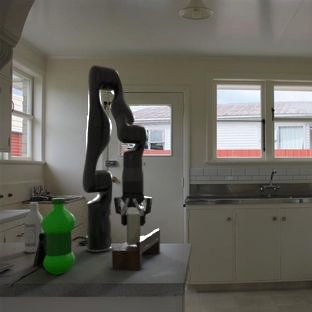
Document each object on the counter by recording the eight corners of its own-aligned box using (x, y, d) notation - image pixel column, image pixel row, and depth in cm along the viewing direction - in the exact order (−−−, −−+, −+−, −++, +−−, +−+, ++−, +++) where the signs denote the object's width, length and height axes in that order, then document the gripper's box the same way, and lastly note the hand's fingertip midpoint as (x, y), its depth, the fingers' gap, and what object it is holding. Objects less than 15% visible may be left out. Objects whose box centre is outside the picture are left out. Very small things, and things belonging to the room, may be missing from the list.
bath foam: (39, 247, 157) (39, 201, 157) (47, 250, 153) (46, 202, 152) (22, 251, 152) (21, 202, 151) (29, 253, 147) (28, 204, 147)
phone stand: (33, 265, 131) (32, 232, 131) (47, 261, 137) (47, 229, 137) (51, 268, 128) (50, 234, 128) (65, 263, 133) (64, 231, 133)
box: (140, 244, 132) (140, 213, 132) (128, 245, 130) (128, 214, 130) (138, 241, 136) (138, 211, 136) (126, 242, 135) (126, 212, 135)
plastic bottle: (35, 275, 121) (34, 200, 120) (58, 266, 131) (57, 196, 131) (60, 278, 118) (59, 200, 118) (82, 268, 128) (81, 196, 128)
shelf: (112, 269, 127) (111, 241, 127) (136, 252, 149) (136, 228, 149) (139, 270, 126) (139, 242, 126) (160, 252, 148) (160, 229, 147)
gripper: (155, 178, 136) (155, 223, 136) (118, 178, 137) (118, 223, 138) (148, 180, 128) (148, 228, 129) (109, 180, 130) (109, 227, 130)
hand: (133, 225), depth 133 cm, fingers closed on box, 6 cm apart
